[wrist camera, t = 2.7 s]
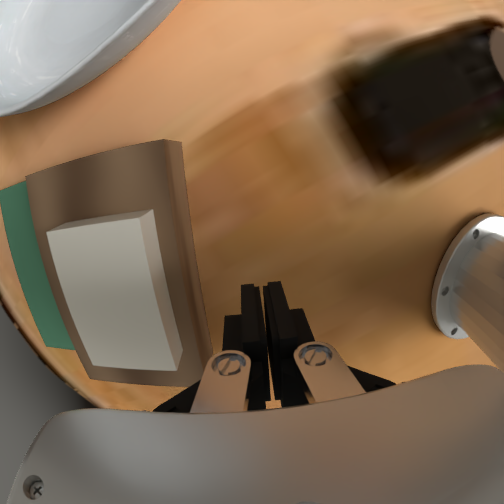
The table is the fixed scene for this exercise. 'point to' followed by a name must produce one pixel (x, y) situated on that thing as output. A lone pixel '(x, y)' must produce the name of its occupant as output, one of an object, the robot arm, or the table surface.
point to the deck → (168, 232)
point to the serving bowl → (66, 45)
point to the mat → (32, 266)
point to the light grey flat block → (117, 290)
